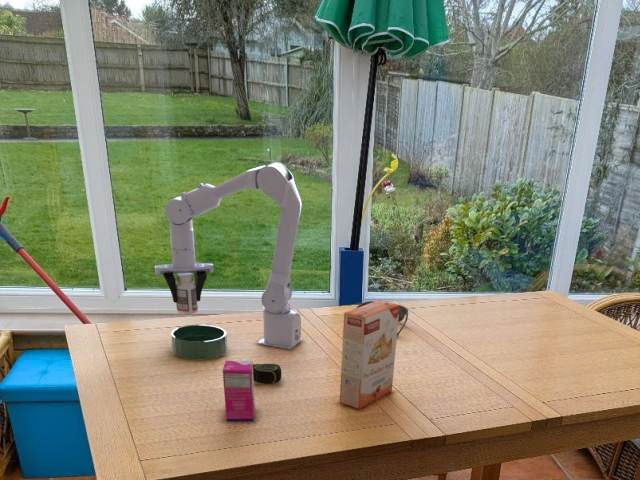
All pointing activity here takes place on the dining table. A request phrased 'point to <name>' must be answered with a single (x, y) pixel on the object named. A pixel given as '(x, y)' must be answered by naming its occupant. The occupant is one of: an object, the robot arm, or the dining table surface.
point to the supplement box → (239, 390)
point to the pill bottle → (186, 294)
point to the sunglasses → (402, 313)
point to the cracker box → (368, 353)
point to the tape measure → (266, 373)
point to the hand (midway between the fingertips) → (186, 300)
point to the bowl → (199, 342)
